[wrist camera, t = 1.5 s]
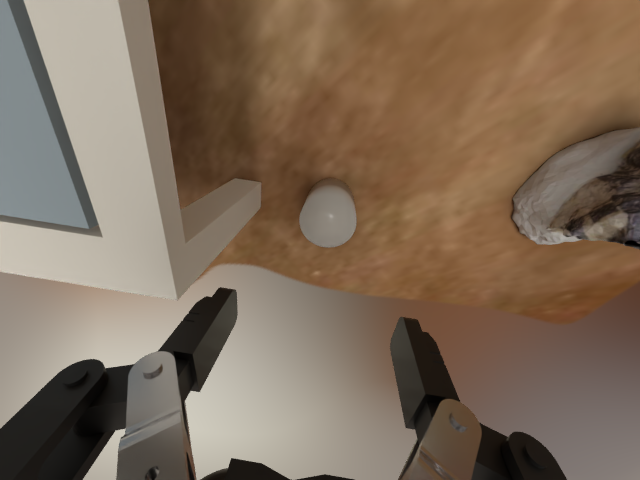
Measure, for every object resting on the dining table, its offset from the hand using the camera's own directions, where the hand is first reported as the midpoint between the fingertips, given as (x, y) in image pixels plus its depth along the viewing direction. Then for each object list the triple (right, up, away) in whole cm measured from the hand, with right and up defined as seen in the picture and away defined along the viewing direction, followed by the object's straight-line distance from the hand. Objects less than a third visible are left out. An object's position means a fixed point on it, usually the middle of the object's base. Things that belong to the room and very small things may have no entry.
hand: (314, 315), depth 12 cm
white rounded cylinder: (+1, +8, +15) cm, 18 cm away
